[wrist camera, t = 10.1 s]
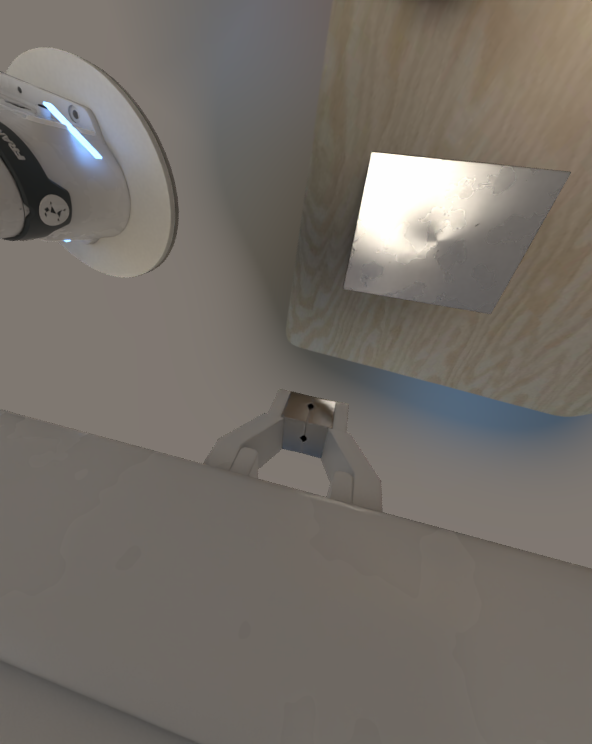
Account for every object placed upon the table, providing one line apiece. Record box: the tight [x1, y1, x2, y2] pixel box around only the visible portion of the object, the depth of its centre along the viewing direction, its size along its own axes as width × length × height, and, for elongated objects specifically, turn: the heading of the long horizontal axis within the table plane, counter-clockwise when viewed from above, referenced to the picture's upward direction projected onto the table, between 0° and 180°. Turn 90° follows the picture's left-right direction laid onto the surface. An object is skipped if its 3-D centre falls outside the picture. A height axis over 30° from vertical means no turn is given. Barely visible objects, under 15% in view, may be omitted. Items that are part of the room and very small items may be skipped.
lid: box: [343, 151, 571, 314], centre depth 27 cm, size 16×13×1 cm
